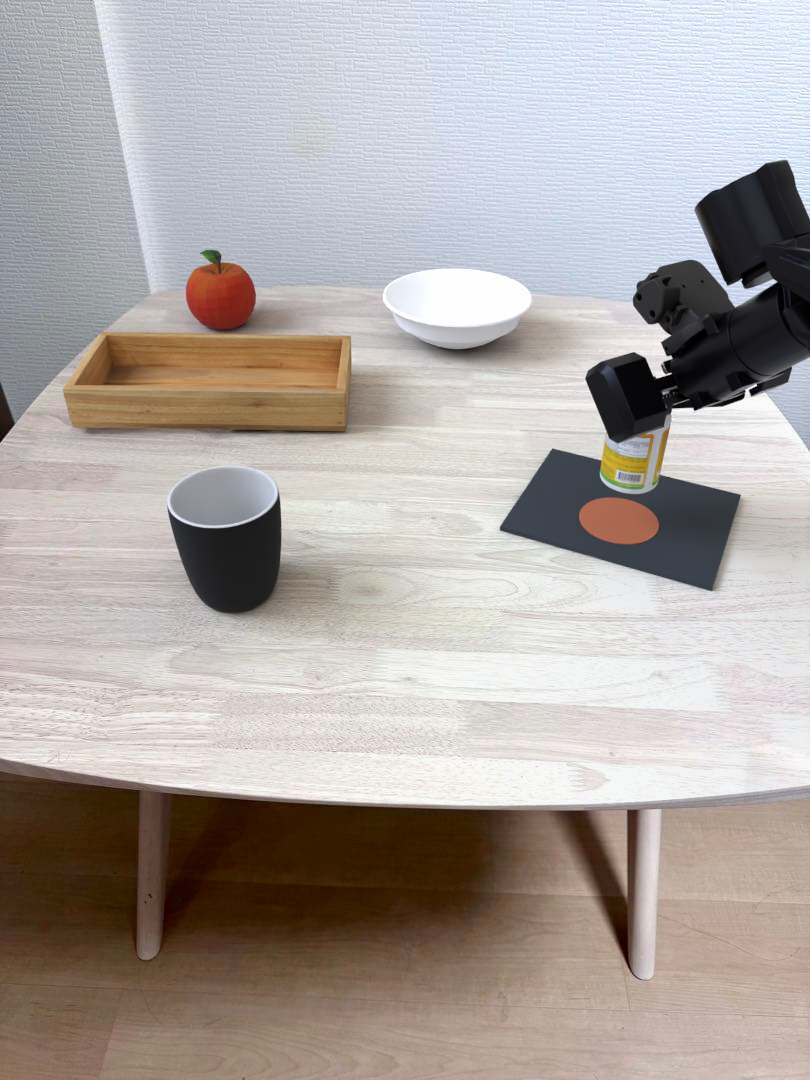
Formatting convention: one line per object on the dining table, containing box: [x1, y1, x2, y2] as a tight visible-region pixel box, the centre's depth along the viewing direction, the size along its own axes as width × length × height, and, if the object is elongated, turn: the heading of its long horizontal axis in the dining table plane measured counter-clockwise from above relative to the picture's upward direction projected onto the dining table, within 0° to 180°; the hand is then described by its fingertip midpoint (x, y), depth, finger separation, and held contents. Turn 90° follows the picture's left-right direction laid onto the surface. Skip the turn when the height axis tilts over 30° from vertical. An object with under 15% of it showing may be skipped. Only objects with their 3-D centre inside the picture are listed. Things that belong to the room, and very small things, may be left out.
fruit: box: [185, 249, 257, 331], centre depth 116 cm, size 10×10×10 cm
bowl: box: [382, 267, 533, 350], centre depth 114 cm, size 20×20×6 cm
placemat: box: [499, 448, 742, 592], centre depth 84 cm, size 20×16×1 cm
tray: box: [62, 331, 352, 432], centre depth 100 cm, size 31×15×6 cm, turn 91°
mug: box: [166, 464, 282, 614], centre depth 72 cm, size 12×9×10 cm
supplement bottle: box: [600, 377, 672, 494], centre depth 76 cm, size 5×5×10 cm
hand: (629, 411), depth 76 cm, fingers closed on supplement bottle, 5 cm apart
